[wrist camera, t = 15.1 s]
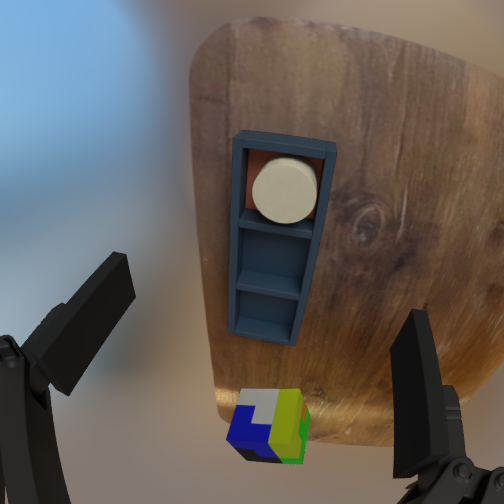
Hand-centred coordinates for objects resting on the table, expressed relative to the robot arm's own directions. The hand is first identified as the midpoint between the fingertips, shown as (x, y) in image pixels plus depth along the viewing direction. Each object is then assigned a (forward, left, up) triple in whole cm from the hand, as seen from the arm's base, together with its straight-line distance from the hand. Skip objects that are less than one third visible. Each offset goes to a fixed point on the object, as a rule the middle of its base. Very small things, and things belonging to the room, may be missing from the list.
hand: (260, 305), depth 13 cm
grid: (+1, +8, -17) cm, 18 cm away
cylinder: (+1, 0, -16) cm, 16 cm away
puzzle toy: (-3, +40, -17) cm, 43 cm away
